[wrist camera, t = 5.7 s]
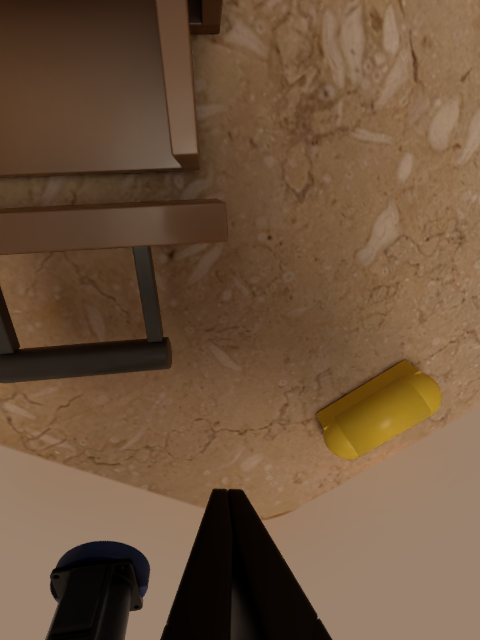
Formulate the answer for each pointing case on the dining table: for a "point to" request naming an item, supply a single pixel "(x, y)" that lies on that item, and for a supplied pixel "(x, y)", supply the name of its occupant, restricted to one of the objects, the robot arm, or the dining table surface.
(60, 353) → the drawer
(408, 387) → the yellow rounded block
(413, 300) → the dining table surface
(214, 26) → the cabinet
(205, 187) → the dining table surface
